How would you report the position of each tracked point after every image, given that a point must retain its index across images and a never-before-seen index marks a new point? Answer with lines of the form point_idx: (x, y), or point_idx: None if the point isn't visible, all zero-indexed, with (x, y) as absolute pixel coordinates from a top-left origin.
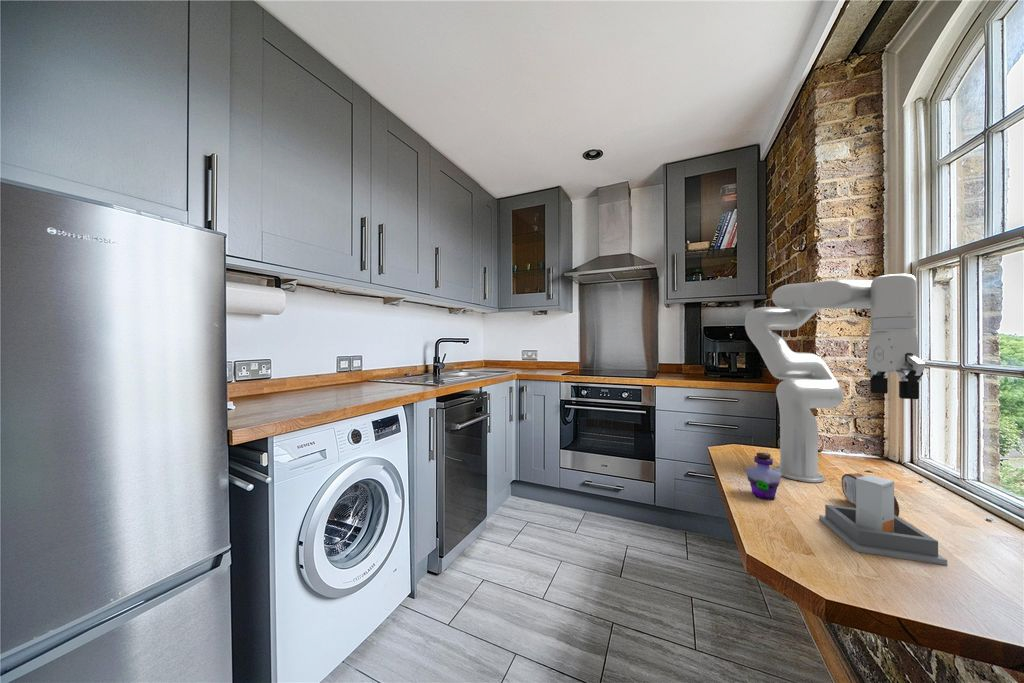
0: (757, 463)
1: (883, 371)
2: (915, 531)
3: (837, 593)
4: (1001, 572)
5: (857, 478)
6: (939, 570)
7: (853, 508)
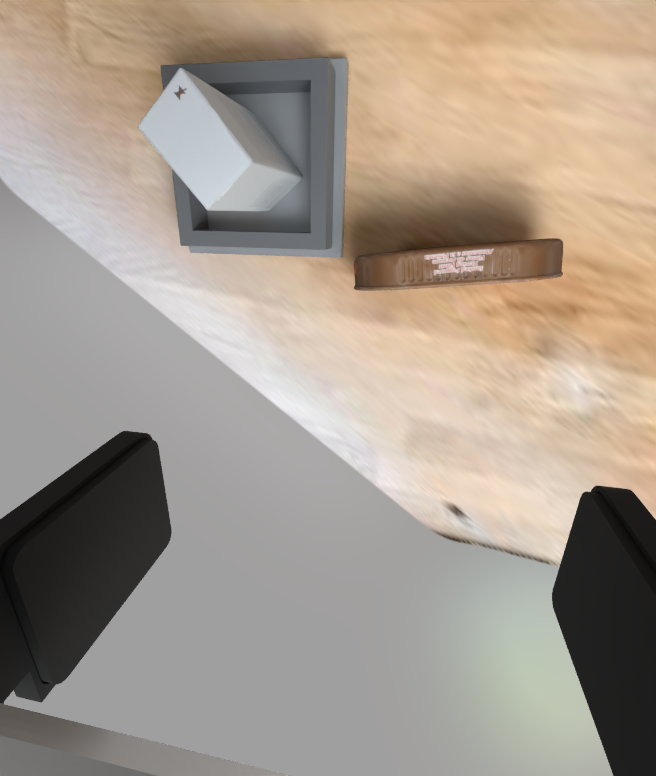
0: None
1: (92, 730)
2: (220, 231)
3: None
4: (208, 334)
5: (179, 71)
6: (167, 219)
7: (322, 146)
